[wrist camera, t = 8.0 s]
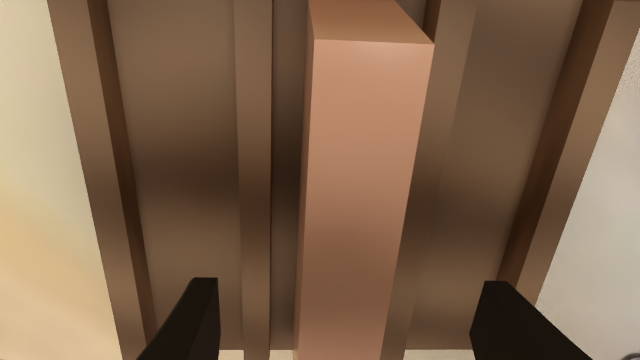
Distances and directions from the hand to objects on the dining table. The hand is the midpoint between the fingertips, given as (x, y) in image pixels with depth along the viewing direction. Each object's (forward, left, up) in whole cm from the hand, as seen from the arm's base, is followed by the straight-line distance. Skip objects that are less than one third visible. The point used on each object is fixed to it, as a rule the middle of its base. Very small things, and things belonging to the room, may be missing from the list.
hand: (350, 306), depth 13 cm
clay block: (0, 0, -5) cm, 5 cm away
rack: (0, 0, -6) cm, 6 cm away
